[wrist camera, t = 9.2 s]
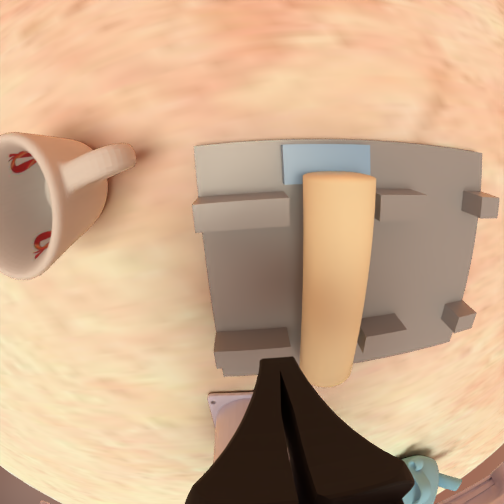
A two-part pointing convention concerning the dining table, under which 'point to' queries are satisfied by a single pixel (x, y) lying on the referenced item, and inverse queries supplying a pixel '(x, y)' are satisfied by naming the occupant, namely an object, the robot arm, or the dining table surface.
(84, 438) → the dining table surface
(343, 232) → the tan tapered cylinder
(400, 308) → the board
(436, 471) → the teapot
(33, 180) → the cup
